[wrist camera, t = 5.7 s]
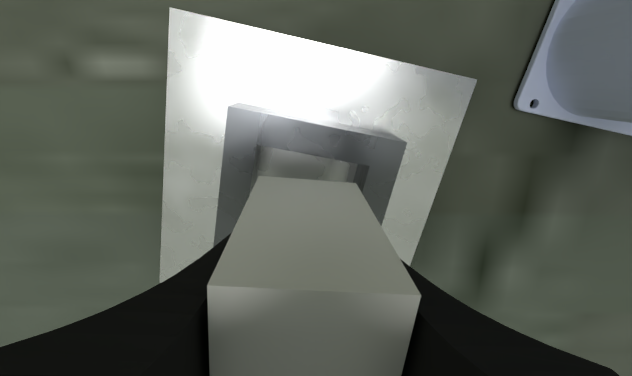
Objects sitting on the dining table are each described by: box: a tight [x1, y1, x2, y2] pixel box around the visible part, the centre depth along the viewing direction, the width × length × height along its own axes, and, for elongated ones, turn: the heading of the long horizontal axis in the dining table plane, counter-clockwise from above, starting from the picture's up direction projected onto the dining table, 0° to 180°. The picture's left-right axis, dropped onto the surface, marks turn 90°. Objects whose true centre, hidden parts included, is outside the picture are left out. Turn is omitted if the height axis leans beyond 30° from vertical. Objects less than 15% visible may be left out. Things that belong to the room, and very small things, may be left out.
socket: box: [160, 8, 477, 283], centre depth 17 cm, size 16×16×4 cm
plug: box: [207, 176, 421, 376], centre depth 9 cm, size 4×4×7 cm
